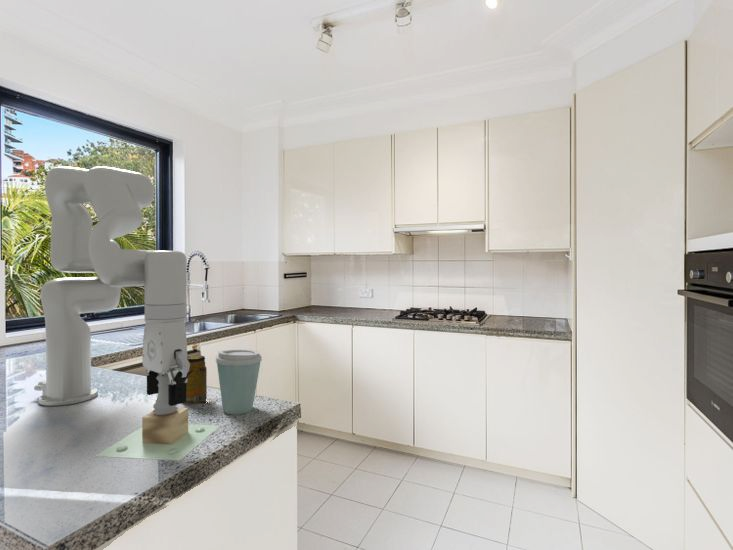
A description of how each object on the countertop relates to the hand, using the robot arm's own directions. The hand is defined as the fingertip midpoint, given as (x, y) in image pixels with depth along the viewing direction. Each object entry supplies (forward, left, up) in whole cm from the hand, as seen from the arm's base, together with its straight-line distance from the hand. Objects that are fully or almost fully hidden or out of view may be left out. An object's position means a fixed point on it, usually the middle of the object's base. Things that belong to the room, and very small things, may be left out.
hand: (166, 398), depth 81 cm
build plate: (0, -1, -9) cm, 9 cm away
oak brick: (0, 0, -8) cm, 8 cm away
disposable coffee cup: (+8, +17, -9) cm, 21 cm away
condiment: (-5, +22, -9) cm, 24 cm away
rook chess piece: (0, 0, -3) cm, 3 cm away
